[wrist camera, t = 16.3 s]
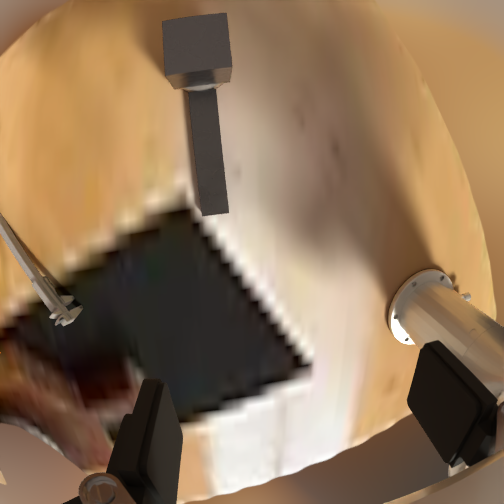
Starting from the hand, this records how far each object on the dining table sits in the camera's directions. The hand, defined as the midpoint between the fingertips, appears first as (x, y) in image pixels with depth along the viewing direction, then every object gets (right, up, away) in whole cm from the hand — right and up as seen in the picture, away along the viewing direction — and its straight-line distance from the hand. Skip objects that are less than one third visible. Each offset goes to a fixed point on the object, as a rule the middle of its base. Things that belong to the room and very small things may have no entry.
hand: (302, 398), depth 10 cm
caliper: (-32, +5, +25) cm, 41 cm away
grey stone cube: (-7, +26, +19) cm, 33 cm away
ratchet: (-7, +20, +23) cm, 31 cm away
